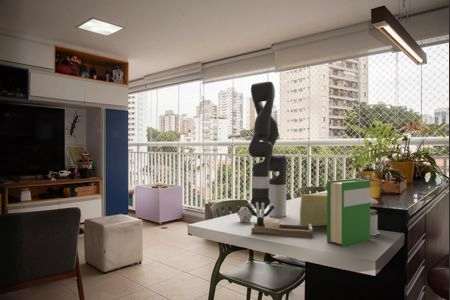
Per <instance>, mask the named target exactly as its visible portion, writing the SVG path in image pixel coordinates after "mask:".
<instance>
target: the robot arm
mask: <svg viewBox="0 0 450 300" xmlns="http://www.w3.org/2000/svg"><path fill="white" fill-rule="evenodd" d="M274 85H275V84H274V83H273V82H272V81H262V82H257V83H256V82H255V83H252V84H251V86H250V93H251V97H252V101H253V105H254V108H255V113H256V118H255V119H254V120H255V121H254V126H253V135H252V138H251V140H250V143H249V147H248V154H249V155H250V157H252V158H263V160H262V161H258V162H255V163H253V164H252V179H251V200H250V202H249V203H247V204H246V206H245V207H247V208H248V209H249V211H250V212H251V213H252V217H256V223H257V225H259V226H262V225H263V224H264V223H265V218H266V217H268V216H270V217H274V218H275V217H276V218H284V217H286V216H287V175H288V174H287V173H288V172H287V171H288V159H287V156H286V155H284V154H274V153H273V151H274V145H275V144H276V142H277V140H278V138H279V134H280V133H279V127H278V126H279V125H278V123H277V121H276V119H275V118H274V117H273V116H272V112H273V108H274V103H275V95H276V91H275V89H276V88H275V86H274ZM263 102H265V103H264V104H263ZM270 172H275V173H276V172H277V173H278V175H277V176H274V177H271V178H270V177H269V174H270ZM267 208H268V210H267ZM254 209H255V210H254ZM265 210H266V212H265Z"/></svg>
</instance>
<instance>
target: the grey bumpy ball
mask: <svg viewBox="0 0 450 300" xmlns="http://www.w3.org/2000/svg"><path fill="white" fill-rule="evenodd" d="M239 206H240V207H239V209H238V212H236V214H237V216H238V217H239V219H240V221H239V223H241V222H249V223H252V222H251V219H252V217H253V215H252V213H251V212H250V211H249V209H248V208H247V207H246V206H242V205H239Z"/></svg>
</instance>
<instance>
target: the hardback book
mask: <svg viewBox="0 0 450 300" xmlns="http://www.w3.org/2000/svg"><path fill="white" fill-rule="evenodd" d="M326 193H327V225H326V243H328V244H331V243H336V244H338V245H341V247H342V248H346V247H350V245H351V246H354V245H357V244H361V243H364V242H368V241H370V240H371V235H370V209H371V204H370V198H371V180H370V179H360V178H347V179H346V178H345V179H335V180H327V181H326Z"/></svg>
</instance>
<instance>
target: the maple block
mask: <svg viewBox="0 0 450 300" xmlns="http://www.w3.org/2000/svg"><path fill="white" fill-rule="evenodd" d="M264 223H265V228H269V229H279V224H280V219H279V218H278V219H276V218H265V219H264Z"/></svg>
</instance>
